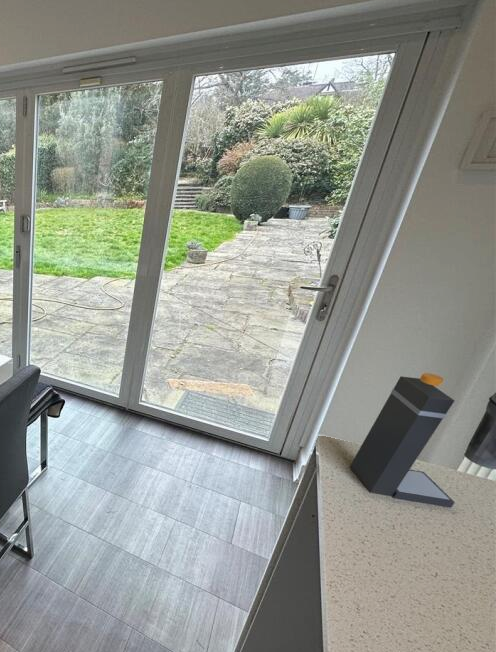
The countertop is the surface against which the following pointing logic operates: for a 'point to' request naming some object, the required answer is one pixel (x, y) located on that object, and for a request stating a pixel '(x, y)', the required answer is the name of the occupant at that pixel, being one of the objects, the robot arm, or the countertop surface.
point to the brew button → (431, 379)
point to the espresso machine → (403, 444)
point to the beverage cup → (484, 439)
